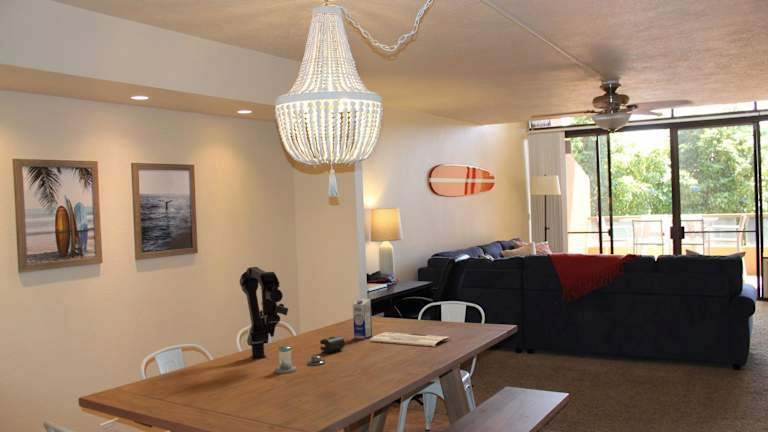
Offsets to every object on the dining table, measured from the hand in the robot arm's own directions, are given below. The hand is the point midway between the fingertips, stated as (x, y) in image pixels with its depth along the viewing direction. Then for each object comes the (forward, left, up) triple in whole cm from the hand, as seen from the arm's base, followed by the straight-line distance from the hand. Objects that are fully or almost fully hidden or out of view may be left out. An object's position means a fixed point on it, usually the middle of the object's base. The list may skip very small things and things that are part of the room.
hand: (270, 335), depth 302 cm
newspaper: (-11, +71, -14) cm, 74 cm away
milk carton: (-32, +54, -13) cm, 64 cm away
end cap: (-9, +31, -13) cm, 35 cm away
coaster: (+16, +3, -13) cm, 21 cm away
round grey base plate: (+10, +18, -13) cm, 24 cm away
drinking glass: (+16, +3, -12) cm, 20 cm away
